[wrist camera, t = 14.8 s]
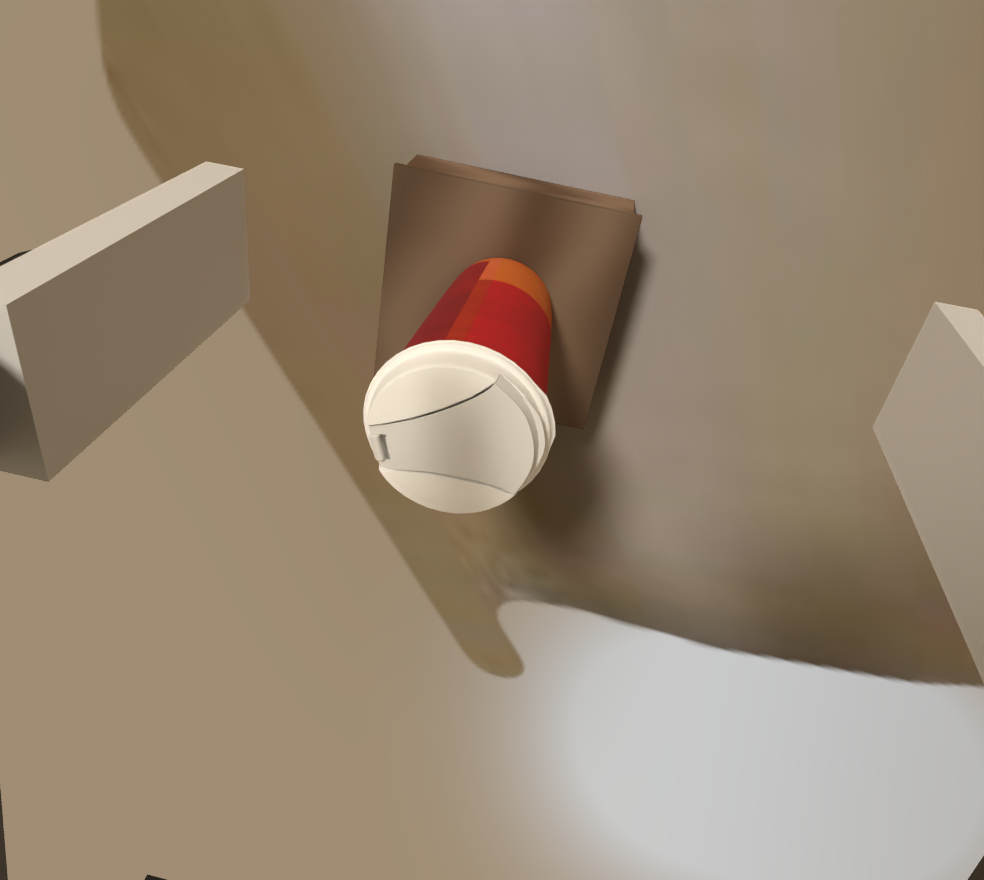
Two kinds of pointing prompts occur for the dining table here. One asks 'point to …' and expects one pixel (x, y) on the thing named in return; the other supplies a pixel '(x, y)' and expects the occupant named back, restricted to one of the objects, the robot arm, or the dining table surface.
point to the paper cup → (468, 393)
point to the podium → (514, 235)
